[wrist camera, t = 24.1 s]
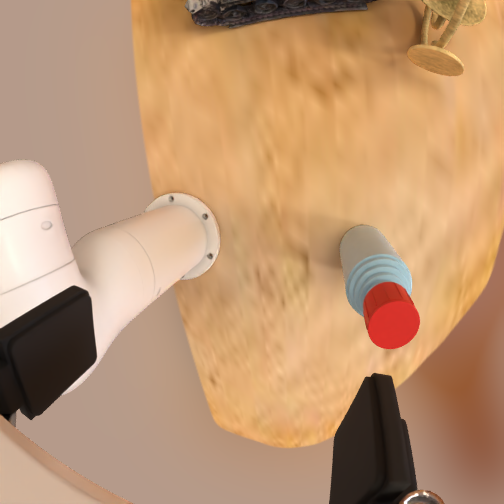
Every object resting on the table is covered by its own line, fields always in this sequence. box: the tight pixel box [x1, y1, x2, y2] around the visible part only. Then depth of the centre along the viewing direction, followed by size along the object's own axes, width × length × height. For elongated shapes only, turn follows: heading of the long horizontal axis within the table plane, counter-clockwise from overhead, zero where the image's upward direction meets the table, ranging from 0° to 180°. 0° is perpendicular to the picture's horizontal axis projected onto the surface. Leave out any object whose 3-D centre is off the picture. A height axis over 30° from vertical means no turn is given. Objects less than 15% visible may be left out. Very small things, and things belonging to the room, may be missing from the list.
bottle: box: [340, 225, 412, 317], centre depth 30 cm, size 6×6×20 cm
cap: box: [363, 282, 420, 349], centre depth 22 cm, size 4×4×4 cm
